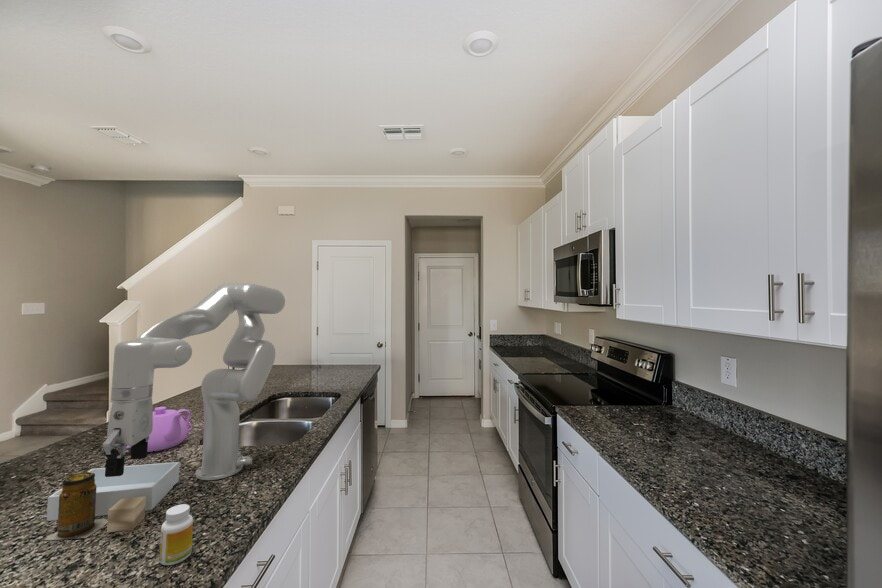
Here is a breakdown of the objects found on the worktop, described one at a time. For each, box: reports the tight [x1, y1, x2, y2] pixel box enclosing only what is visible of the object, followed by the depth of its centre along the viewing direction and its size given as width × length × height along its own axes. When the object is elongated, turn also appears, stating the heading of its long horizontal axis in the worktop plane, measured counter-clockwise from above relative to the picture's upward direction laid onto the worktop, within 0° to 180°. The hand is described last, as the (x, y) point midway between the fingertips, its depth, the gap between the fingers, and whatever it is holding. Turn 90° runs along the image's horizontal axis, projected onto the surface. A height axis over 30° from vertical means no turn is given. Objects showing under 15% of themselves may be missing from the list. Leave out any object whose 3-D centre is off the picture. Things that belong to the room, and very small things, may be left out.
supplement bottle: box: [159, 503, 194, 566], centre depth 74 cm, size 5×5×10 cm
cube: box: [106, 496, 146, 533], centre depth 85 cm, size 5×5×5 cm
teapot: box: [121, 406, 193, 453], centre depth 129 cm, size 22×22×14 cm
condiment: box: [43, 471, 108, 541], centre depth 82 cm, size 7×8×12 cm
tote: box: [46, 461, 181, 522], centre depth 95 cm, size 21×15×6 cm
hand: (127, 466), depth 84 cm, fingers open, 9 cm apart
